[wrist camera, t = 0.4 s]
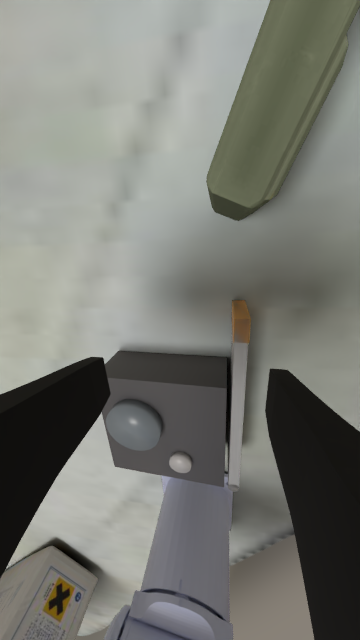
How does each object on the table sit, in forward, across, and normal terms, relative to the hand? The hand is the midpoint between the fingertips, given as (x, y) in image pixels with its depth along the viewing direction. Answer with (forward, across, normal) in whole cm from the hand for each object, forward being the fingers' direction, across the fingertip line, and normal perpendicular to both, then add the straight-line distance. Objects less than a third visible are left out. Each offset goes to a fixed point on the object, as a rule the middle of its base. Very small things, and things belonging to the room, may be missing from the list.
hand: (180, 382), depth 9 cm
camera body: (+8, +3, +8) cm, 12 cm away
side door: (+8, -3, +6) cm, 11 cm away
